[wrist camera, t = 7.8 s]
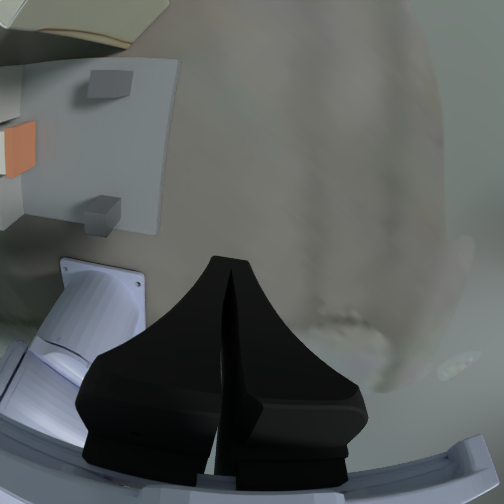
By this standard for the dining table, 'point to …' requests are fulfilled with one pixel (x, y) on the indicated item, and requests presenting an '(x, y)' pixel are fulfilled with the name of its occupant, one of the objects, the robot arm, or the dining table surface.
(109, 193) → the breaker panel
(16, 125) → the button
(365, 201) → the dining table surface
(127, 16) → the skincare box
